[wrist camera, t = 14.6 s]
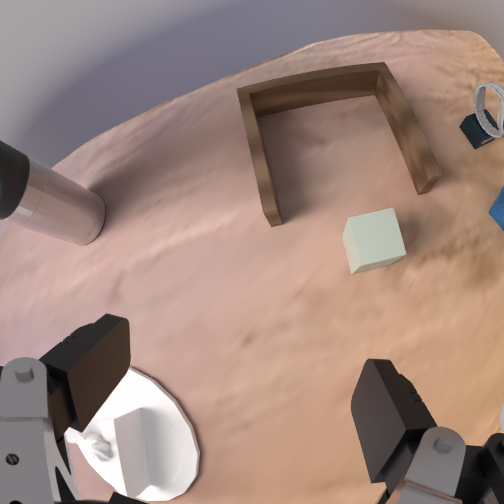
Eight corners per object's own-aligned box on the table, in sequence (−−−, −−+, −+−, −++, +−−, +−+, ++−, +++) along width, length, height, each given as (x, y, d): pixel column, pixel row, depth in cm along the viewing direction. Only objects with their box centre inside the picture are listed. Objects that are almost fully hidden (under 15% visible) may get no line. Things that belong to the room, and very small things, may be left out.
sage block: (342, 235, 37) (348, 217, 29) (378, 227, 36) (393, 207, 29) (351, 274, 36) (360, 265, 28) (388, 265, 35) (406, 254, 28)
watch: (481, 159, 34) (513, 123, 24) (453, 118, 36) (476, 76, 26) (500, 149, 34) (531, 115, 23) (473, 110, 36) (497, 70, 25)
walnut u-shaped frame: (246, 112, 43) (236, 88, 38) (379, 86, 40) (384, 62, 34) (271, 226, 39) (263, 213, 33) (426, 193, 36) (441, 175, 30)
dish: (57, 379, 43) (11, 387, 32) (161, 346, 40) (112, 355, 29) (110, 496, 37) (74, 520, 26) (227, 491, 34) (201, 533, 23)
